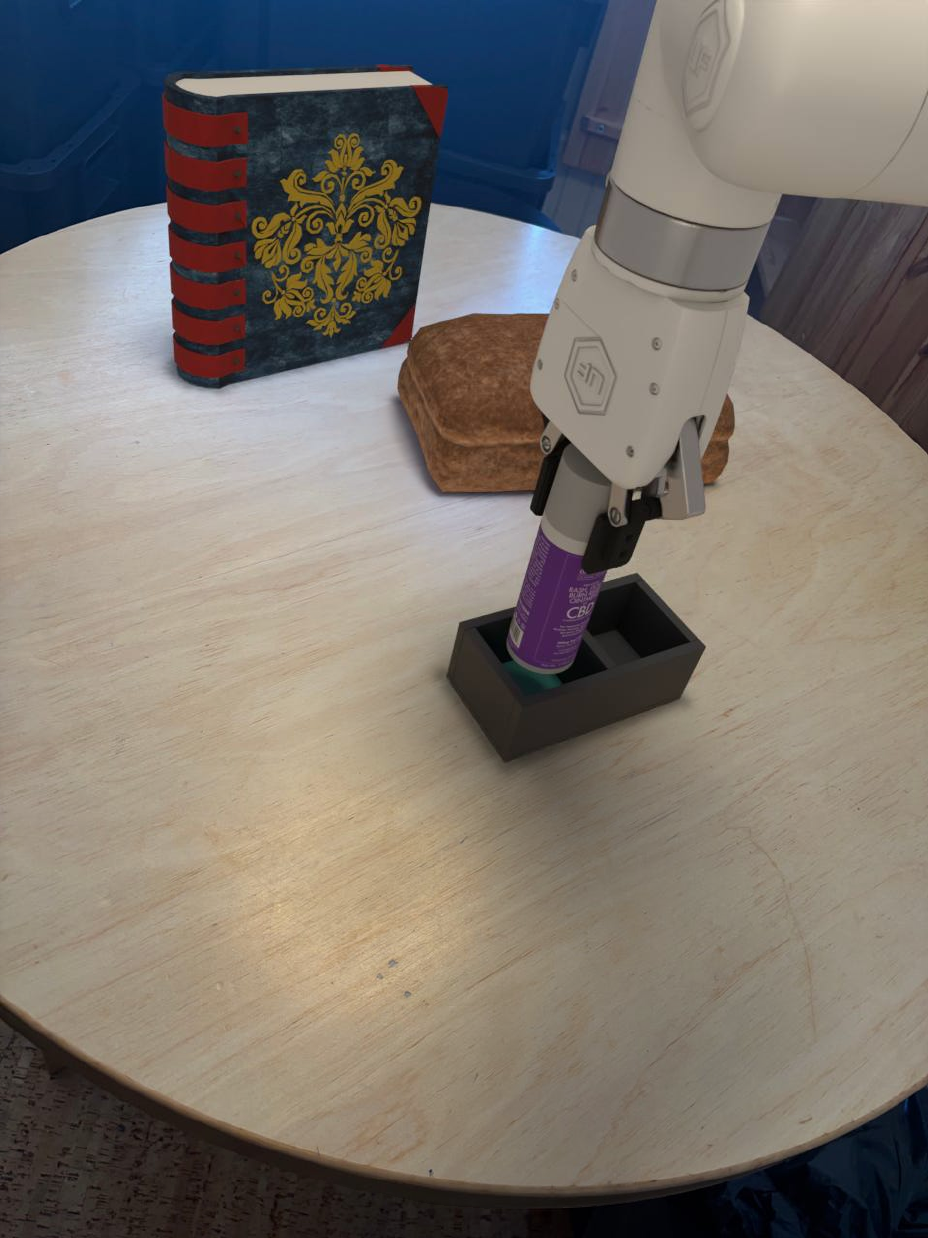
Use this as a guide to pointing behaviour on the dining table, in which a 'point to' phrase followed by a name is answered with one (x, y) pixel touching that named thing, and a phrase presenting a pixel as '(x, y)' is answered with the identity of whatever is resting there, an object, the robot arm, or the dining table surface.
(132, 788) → the dining table surface
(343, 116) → the book
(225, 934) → the dining table surface
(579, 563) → the container
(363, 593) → the dining table surface
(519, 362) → the bread
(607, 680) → the dark grey divided box
